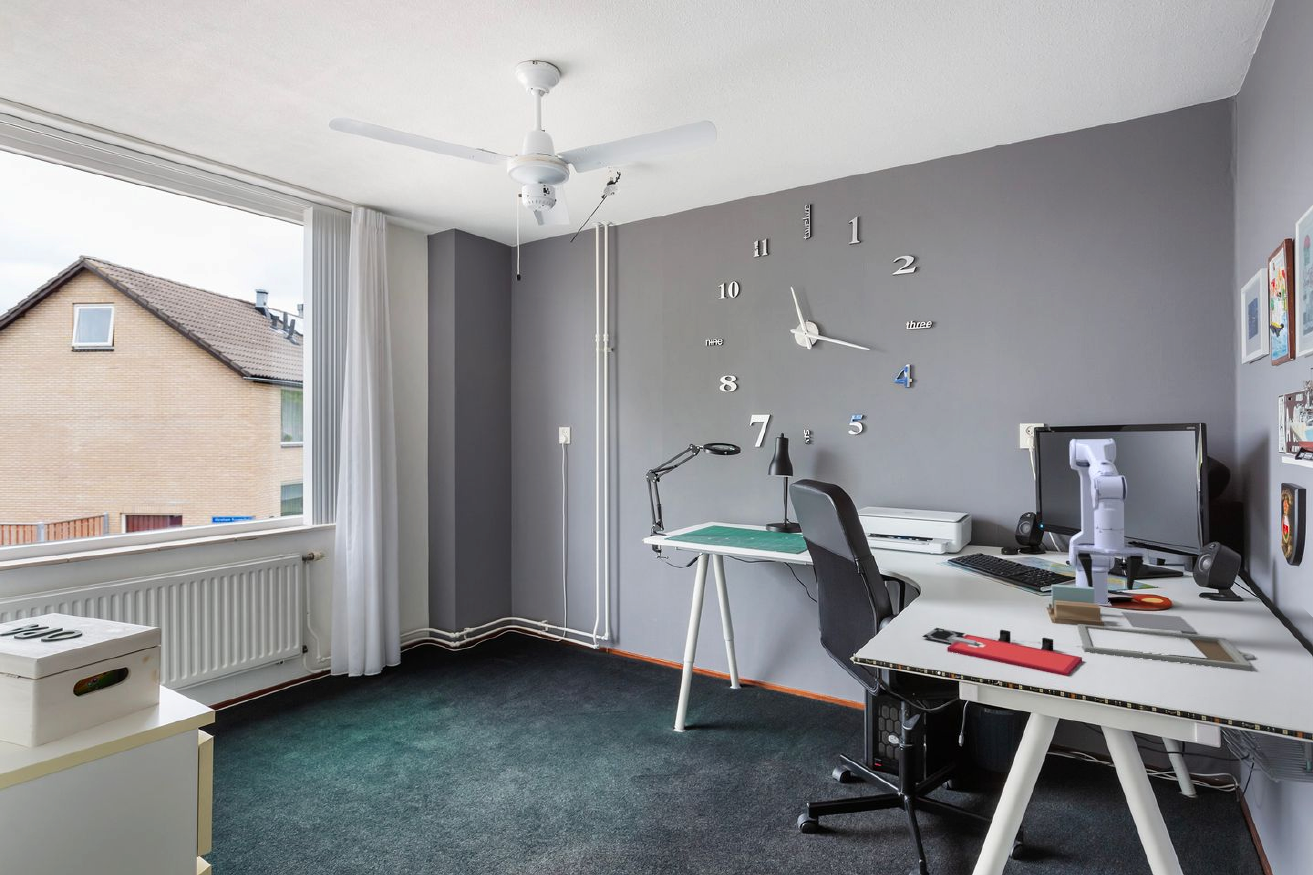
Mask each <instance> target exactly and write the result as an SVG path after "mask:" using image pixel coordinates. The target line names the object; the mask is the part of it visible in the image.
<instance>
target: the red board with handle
mask: <svg viewBox="0 0 1313 875" xmlns="http://www.w3.org/2000/svg"><path fill="white" fill-rule="evenodd" d="M921 638H926V639H930V640H936V641H940V642H945V643H948V644H950V645H949V646H947V648H946V651H947V652H948V653H952V652H953V654H957V653H958V655H962V656H968V657H972V658H977V659H983V660H986V661H991V662H997V663H1001V664H1005V665H1010V666H1011V665H1012V666H1015V667H1021V668H1025V669H1031V670H1033V671H1034V670H1036V671H1040V672H1043V673H1050V674H1053V675H1054V674H1055V675H1059V676H1064V677H1069V675H1070V674H1072V672H1074V670H1075V669H1076V668H1077V667H1078V666H1079V665H1080V664H1081V663H1082V662H1083V657H1082V656H1079V655H1077V656H1076V655H1071V654H1067V653H1062V652H1056V651H1054V639H1053V638H1048V637H1042V638H1041V642H1042V644H1041V648H1038V647H1033V646H1032V647H1031V646H1026V645H1022V644H1017V643H1011V631H1010V630H1005V629H1000V630H999V637H998V639H992V638H987V637H982V636H977V635H971V634H966V633H965V632H959V631H954V630H949V629H945V628H940V627H935V628H934V629H933V630H930V631H929V632H927V633H925V634H923V635H922V636H921ZM1080 662H1081V663H1080Z"/></svg>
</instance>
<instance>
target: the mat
mask: <svg viewBox="0 0 1313 875" xmlns="http://www.w3.org/2000/svg"><path fill="white" fill-rule="evenodd" d="M1121 614H1122V615H1123V616H1124V617H1125V618H1126V620H1127V621H1128V623H1129V625H1131V627H1133V628H1138V629H1139V628H1140V629H1141V628H1142V629H1151V630H1164V631H1175V632H1180V633H1181V634H1185V633H1186V634H1187V635H1198V632H1197V630H1195V629H1194V628H1193V627H1192V626H1191V625H1190V624H1189V623H1188V622H1187V621H1186V620H1185V619H1183V618H1182V617H1181V616H1179V615H1177V616H1176V615H1166V614H1153V613H1152V614H1151V613H1138V612H1127V611H1121Z"/></svg>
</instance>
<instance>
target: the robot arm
mask: <svg viewBox="0 0 1313 875" xmlns="http://www.w3.org/2000/svg"><path fill="white" fill-rule="evenodd" d="M1116 457H1117V446H1116V441H1115V440H1114V439H1113V438H1103V439H1102V438H1098V439H1097V438H1096V439H1095V438H1094V439H1093V438H1091V439H1090V438H1089V439H1088V438H1086V439H1078V438H1077V439H1075V438H1072V439H1071V440H1070V441H1069V465H1070V469H1072V470H1074V471H1077V473H1078V476H1079V478H1080V527H1081V529H1080V530H1081V531H1079V532H1078V533H1076V534H1074V535H1073V536H1071V537H1070V539H1069V546H1068V559H1069V560H1068V561H1069V565H1070V566H1071V567H1072V568H1075V586H1080V587H1093V588H1094V603H1095V604H1098V605H1099V606H1106V607H1112V604H1111V601H1109V599H1108V598H1109V592H1108V591H1109V589H1108V588H1109V585H1108V584H1109V583H1108V581H1109V580H1108V579H1109V578H1108V577H1109V576H1108V575H1109V574H1108V572H1110V570H1112V569H1113V568H1114V567H1115V560H1116V558H1115V557H1120V558H1123V557H1124V558H1125V559H1126V569H1127V575H1126V577H1127V578H1126V588H1127V589H1128V590H1132V591H1133V587H1134V583H1135V581H1136V577H1137V575H1138V573H1139V571H1140V569H1141V568H1142V566H1143V564H1144V559H1149V550H1148V549H1147V548H1143V547H1142V548H1139V547H1129V546H1125V507H1124V506H1125V504H1124V502H1126V500H1127V495H1128V485H1127V480H1126V476H1124V475H1120V474H1119V472H1118V470H1117V467H1116V465H1115V464H1114V463H1115V461H1116ZM1108 601H1109V602H1108Z"/></svg>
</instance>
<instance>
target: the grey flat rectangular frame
mask: <svg viewBox="0 0 1313 875" xmlns="http://www.w3.org/2000/svg"><path fill="white" fill-rule="evenodd" d="M1076 626H1077V629H1078V633H1079V637H1080V640H1081V644H1082V650H1083V652H1084V653H1086V652H1090V653H1089V654H1095V653H1097V654H1098V655H1104V654H1106V655H1105V656H1107V655H1108V656H1114V655H1115V656H1114V657H1121V656H1123V657H1122V658H1130V657H1133V658H1132V659H1139V658H1143V659H1142V660H1148V659H1152V660H1151V661H1157V660H1161V661H1160V662H1165V661H1168V662H1167V663H1174V662H1180V663H1179V664H1183V663H1189V664H1188V665H1192V664H1196V665H1195V666H1201V665H1204V667H1209V666H1212V667H1211V668H1218V667H1220V669H1221V668H1222V669H1227V668H1228V670H1235V671H1236V670H1237V671H1245V672H1253V666H1252V664H1251V663H1250V662H1249V661H1253V660H1255V659H1256V656H1255V655H1254V654H1253V653H1249V652H1243V651H1240V650H1239V649H1238V648H1235V647H1234V646H1233V645H1232V644H1231V643H1230V642H1229V640H1228V639H1226V638H1225V637H1217V636H1205V635H1198V634H1185V633H1177V632H1175V633H1174V632H1164V631H1155V630H1144V629H1143V630H1142V629H1135V628H1133V629H1132V628H1125V627H1112V626H1106V627H1105V626H1094V625H1084V624H1078V625H1076ZM1087 629H1089V630H1090V629H1092V630H1103V631H1110V632H1111V631H1112V632H1121V633H1132V634H1139V635H1151V636H1161V637H1170V638H1171V637H1173V638H1181V639H1187V640H1189V642H1191V644H1192V645H1193V646H1195V647H1196V648H1197V649H1198V650H1199V652H1200V653H1202V654H1203V655H1204V657H1200V656H1188V655H1179V654H1178V655H1176V654H1169V655H1161V654H1162V653H1159V654H1152V653H1153V652H1149V653H1143V652H1144V651H1135V650H1128V649H1127V650H1126V649H1116V648H1104V647H1098V646H1097V647H1095V646H1093V645H1092V642H1091V639H1090V637H1089V634H1088V630H1087Z"/></svg>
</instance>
